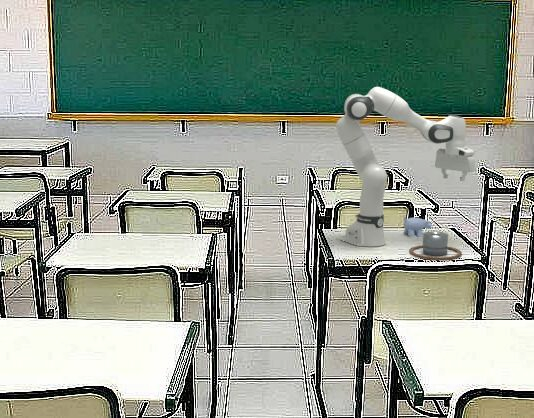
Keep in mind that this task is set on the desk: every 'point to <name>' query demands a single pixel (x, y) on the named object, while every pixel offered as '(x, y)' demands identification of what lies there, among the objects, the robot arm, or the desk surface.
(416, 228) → the hippopotamus toy
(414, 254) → the locating ring
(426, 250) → the metal cover
